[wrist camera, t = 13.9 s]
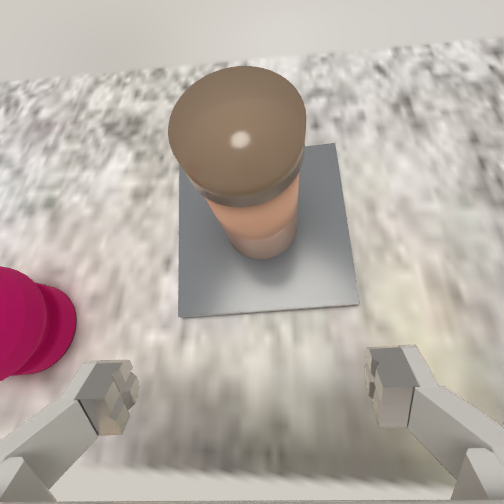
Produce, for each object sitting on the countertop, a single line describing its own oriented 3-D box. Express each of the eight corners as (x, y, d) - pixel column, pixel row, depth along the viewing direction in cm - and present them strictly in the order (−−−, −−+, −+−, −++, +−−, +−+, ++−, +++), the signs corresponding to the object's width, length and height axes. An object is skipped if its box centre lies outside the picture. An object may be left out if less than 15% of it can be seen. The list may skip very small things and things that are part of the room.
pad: (333, 149, 25) (334, 143, 24) (357, 305, 21) (359, 303, 21) (182, 167, 26) (179, 162, 25) (182, 317, 23) (178, 316, 22)
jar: (294, 186, 23) (296, 55, 13) (305, 257, 22) (316, 172, 11) (222, 196, 24) (167, 78, 13) (226, 266, 22) (169, 194, 12)
